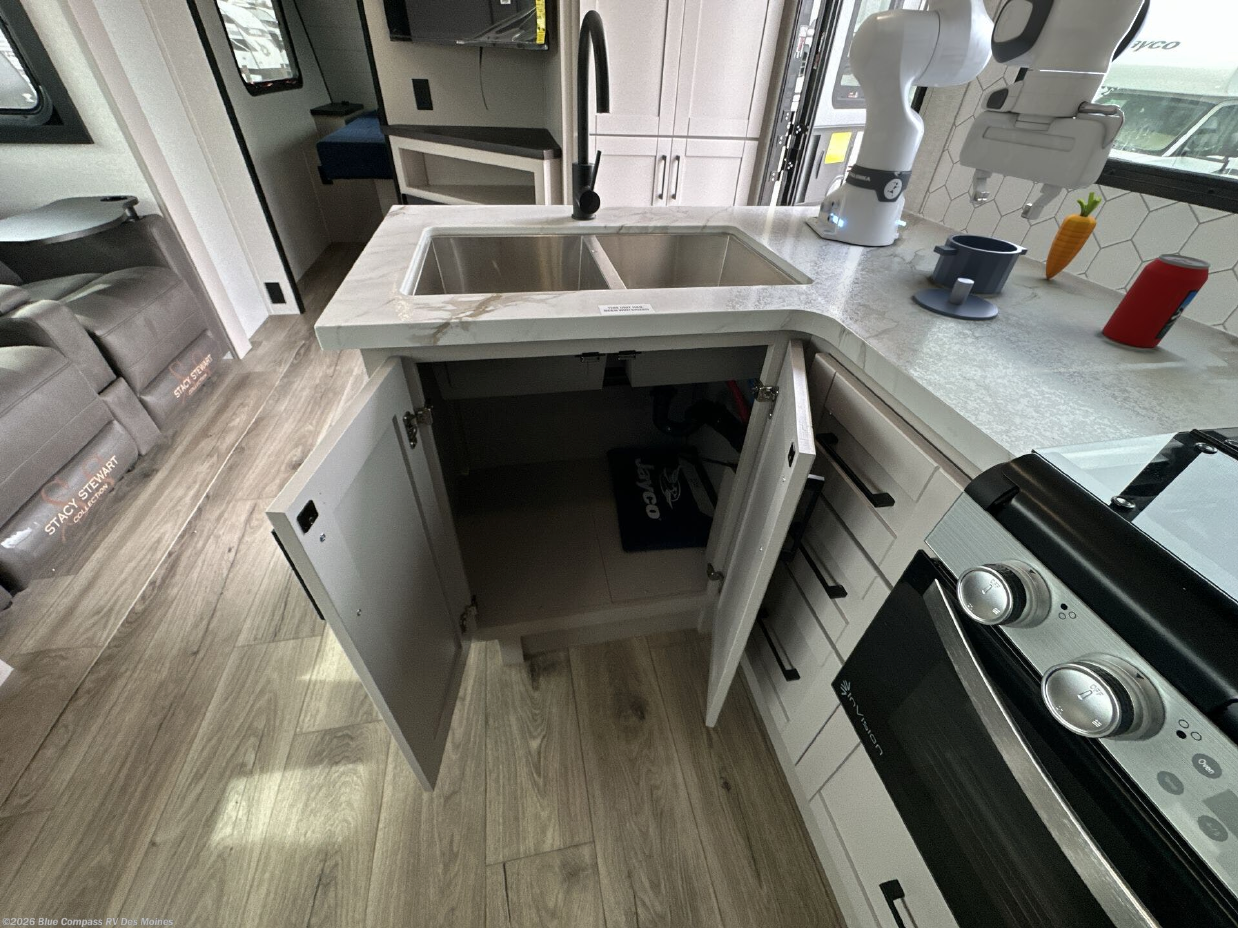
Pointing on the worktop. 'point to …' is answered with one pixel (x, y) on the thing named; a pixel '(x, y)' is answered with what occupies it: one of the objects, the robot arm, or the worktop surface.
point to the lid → (956, 302)
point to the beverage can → (1156, 300)
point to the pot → (976, 262)
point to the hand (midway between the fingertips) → (1001, 211)
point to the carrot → (1071, 237)
